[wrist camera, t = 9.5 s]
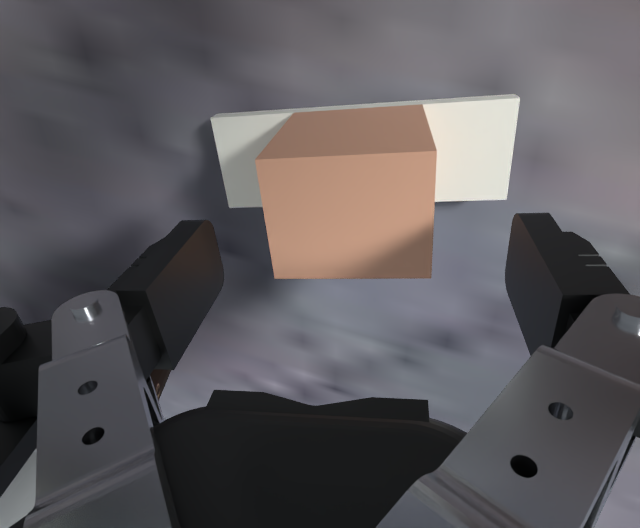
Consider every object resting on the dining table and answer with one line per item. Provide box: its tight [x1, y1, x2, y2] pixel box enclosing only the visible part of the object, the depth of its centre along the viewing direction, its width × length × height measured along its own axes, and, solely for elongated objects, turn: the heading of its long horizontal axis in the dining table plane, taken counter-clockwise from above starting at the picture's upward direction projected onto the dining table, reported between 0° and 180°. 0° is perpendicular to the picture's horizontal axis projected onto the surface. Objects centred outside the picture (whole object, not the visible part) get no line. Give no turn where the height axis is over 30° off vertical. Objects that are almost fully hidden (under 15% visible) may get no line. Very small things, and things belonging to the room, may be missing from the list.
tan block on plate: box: [211, 94, 520, 279], centre depth 16 cm, size 12×4×7 cm, turn 95°
